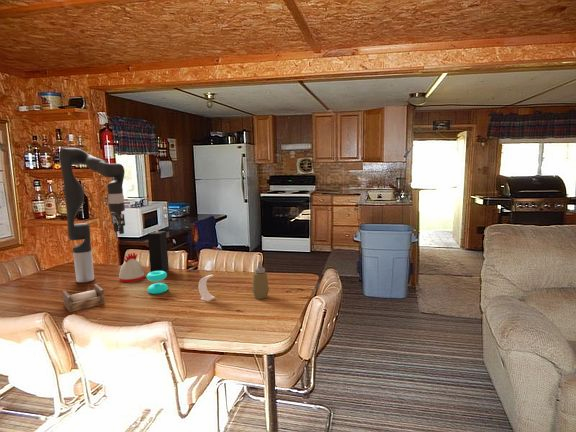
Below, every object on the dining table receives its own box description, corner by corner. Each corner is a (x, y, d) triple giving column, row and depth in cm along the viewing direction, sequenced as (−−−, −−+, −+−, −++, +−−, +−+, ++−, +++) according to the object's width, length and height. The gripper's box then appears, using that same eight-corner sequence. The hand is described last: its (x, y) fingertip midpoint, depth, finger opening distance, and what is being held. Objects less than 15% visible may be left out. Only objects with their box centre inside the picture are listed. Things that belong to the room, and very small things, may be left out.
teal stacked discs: (170, 272, 193) (152, 276, 186) (171, 290, 195) (153, 296, 188) (160, 268, 200) (142, 273, 193) (162, 286, 202) (144, 291, 194)
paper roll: (72, 307, 173) (71, 296, 172) (70, 303, 177) (68, 293, 176) (98, 301, 180) (97, 291, 179) (95, 297, 184) (94, 288, 183)
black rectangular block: (162, 274, 225) (159, 228, 221) (150, 273, 227) (147, 228, 223) (169, 270, 233) (165, 225, 229) (157, 269, 234) (154, 225, 230)
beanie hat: (149, 277, 220) (147, 252, 218) (129, 283, 209) (126, 257, 206) (135, 273, 228) (133, 249, 225) (114, 279, 216) (111, 254, 214)
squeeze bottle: (271, 295, 185) (270, 259, 182) (265, 301, 177) (264, 264, 175) (256, 293, 187) (255, 258, 185) (249, 299, 180) (248, 263, 177)
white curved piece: (208, 301, 179) (206, 277, 177) (199, 299, 182) (197, 275, 180) (214, 298, 182) (213, 274, 181) (205, 296, 186) (204, 272, 184)
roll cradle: (69, 312, 169) (67, 297, 168) (64, 305, 178) (62, 291, 177) (104, 303, 179) (103, 289, 178) (97, 297, 188) (96, 283, 187)
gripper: (104, 201, 198) (107, 232, 200) (112, 203, 187) (115, 235, 190) (119, 200, 203) (122, 230, 205) (128, 202, 192) (131, 233, 195)
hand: (119, 232), depth 197 cm, fingers open, 8 cm apart
